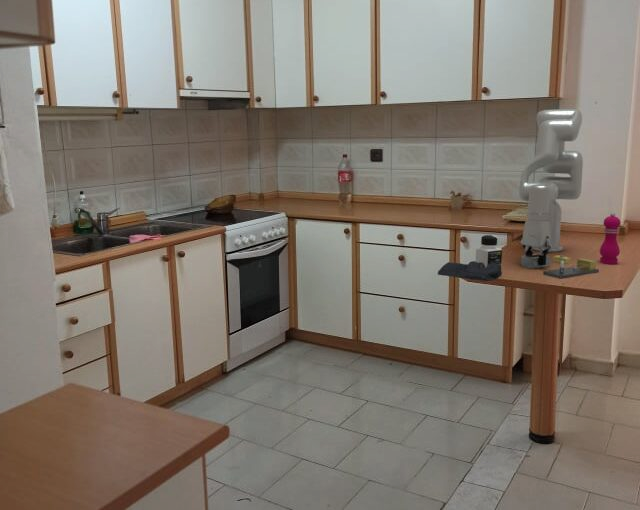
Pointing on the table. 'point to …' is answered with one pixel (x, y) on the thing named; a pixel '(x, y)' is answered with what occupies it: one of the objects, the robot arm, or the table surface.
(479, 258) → the medicine bottle
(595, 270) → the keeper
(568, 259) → the block
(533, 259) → the link
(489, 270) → the dark grey cloth
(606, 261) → the pepper mill
